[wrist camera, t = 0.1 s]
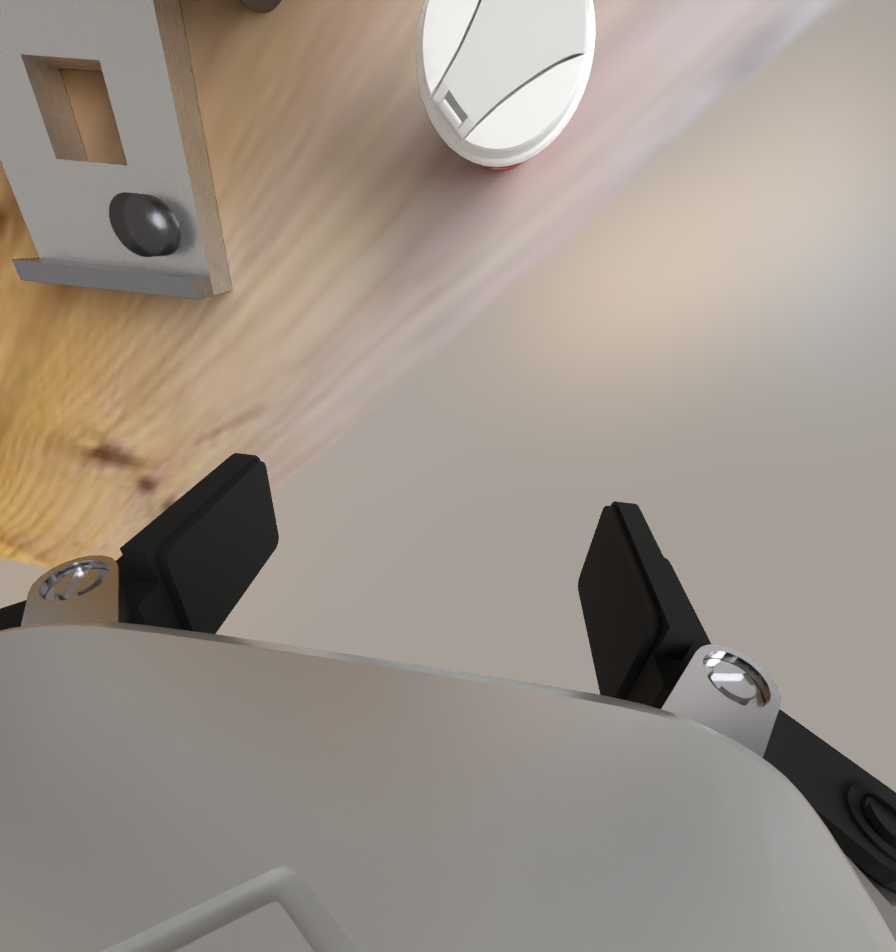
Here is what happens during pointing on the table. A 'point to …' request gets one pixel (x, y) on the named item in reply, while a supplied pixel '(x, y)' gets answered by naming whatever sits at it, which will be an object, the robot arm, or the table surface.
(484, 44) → the coffee cup
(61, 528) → the table surface
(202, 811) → the robot arm
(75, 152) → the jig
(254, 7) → the gray cylinder
